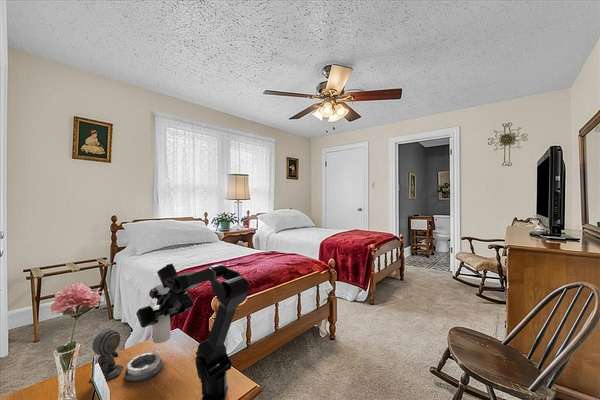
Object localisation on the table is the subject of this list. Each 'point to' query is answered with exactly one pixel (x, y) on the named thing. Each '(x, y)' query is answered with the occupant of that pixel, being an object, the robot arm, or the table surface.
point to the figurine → (107, 353)
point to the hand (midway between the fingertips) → (159, 320)
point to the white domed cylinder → (161, 328)
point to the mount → (143, 367)
